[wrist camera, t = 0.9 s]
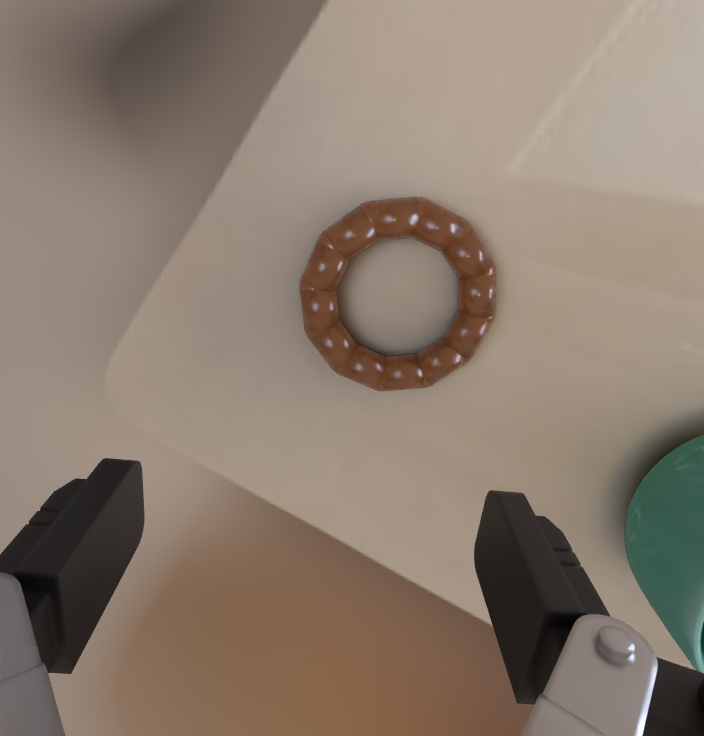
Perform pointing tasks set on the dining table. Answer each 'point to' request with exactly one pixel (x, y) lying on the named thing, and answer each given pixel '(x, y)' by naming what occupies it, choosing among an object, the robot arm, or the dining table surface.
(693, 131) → the dining table surface
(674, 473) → the mug
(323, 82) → the dining table surface
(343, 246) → the ring
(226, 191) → the dining table surface
